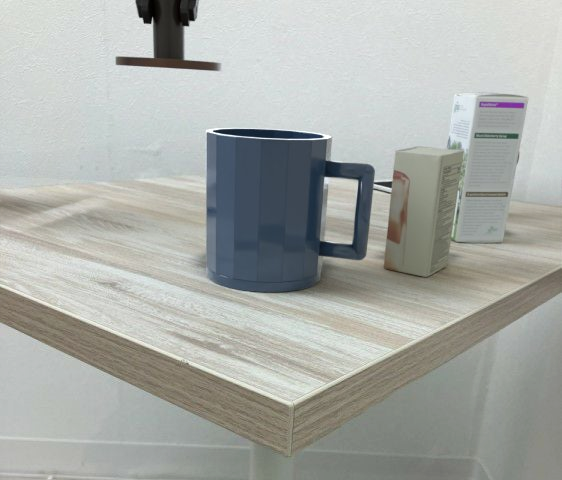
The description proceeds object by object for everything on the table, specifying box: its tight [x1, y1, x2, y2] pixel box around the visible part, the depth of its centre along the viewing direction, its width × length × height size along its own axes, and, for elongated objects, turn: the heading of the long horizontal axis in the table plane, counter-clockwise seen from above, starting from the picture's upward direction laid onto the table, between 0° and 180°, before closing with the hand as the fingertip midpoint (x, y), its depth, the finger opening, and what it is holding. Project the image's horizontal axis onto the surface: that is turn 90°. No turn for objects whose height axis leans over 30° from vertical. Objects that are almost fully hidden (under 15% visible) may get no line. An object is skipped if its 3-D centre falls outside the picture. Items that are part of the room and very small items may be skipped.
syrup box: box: [446, 91, 529, 244], centre depth 68 cm, size 6×6×14 cm
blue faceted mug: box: [205, 127, 376, 293], centre depth 50 cm, size 13×9×11 cm
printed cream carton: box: [383, 145, 464, 278], centre depth 55 cm, size 5×4×10 cm
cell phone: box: [373, 178, 393, 194], centre depth 97 cm, size 8×16×1 cm, turn 31°
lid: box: [115, 0, 223, 73], centre depth 65 cm, size 11×11×8 cm
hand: (165, 17), depth 63 cm, fingers closed on lid, 3 cm apart
